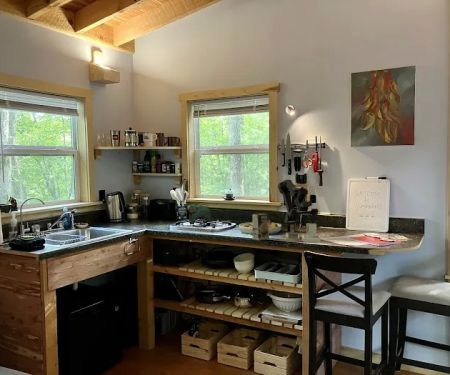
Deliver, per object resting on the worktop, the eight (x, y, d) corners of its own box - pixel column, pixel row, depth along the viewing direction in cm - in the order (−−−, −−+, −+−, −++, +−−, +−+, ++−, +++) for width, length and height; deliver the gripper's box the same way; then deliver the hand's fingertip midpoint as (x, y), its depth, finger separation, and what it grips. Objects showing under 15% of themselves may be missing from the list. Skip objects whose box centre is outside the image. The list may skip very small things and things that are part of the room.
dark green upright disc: (189, 227, 320) (189, 201, 319) (186, 225, 326) (185, 200, 325) (212, 224, 330) (212, 199, 329) (208, 223, 336) (208, 199, 334)
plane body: (285, 236, 276) (285, 224, 276) (298, 236, 275) (298, 224, 275) (286, 241, 258) (286, 228, 257) (299, 241, 257) (299, 228, 256)
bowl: (280, 236, 278) (279, 224, 278) (235, 235, 284) (235, 223, 284) (282, 229, 308) (282, 218, 307) (242, 228, 314) (242, 217, 313)
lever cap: (306, 239, 263) (306, 223, 262) (313, 238, 264) (313, 223, 263) (308, 240, 259) (308, 224, 258) (316, 239, 260) (316, 224, 259)
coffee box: (258, 240, 263) (258, 214, 262) (252, 239, 268) (252, 214, 267) (269, 238, 268) (269, 213, 267) (262, 237, 273) (262, 212, 272)
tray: (302, 238, 267) (302, 235, 267) (319, 238, 266) (319, 235, 266) (303, 241, 257) (303, 238, 257) (320, 241, 256) (320, 238, 255)
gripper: (290, 197, 269) (296, 216, 259) (317, 196, 273) (324, 215, 263) (286, 207, 278) (292, 226, 268) (312, 206, 281) (319, 225, 271)
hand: (307, 223), depth 267 cm, fingers open, 9 cm apart
